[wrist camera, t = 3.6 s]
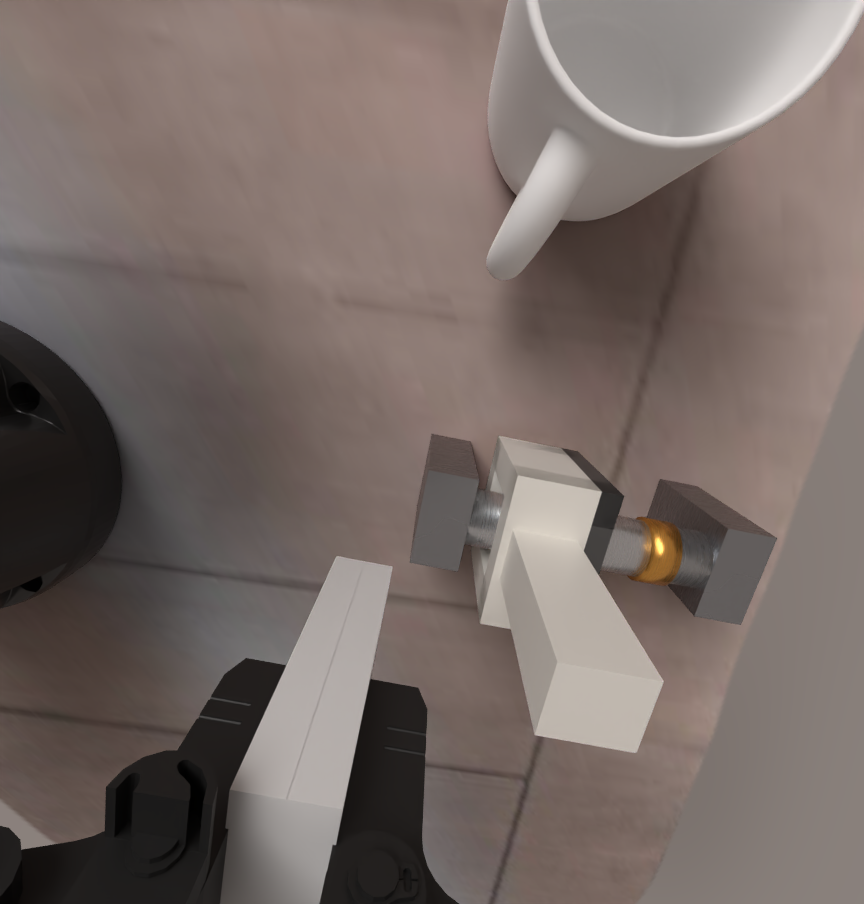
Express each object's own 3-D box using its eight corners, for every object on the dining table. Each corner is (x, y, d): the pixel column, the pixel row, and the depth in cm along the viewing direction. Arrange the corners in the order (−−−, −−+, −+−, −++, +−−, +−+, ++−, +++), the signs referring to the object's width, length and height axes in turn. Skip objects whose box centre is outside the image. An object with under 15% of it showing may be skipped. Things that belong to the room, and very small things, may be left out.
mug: (553, 332, 23) (636, 342, 13) (405, 236, 22) (376, 168, 12) (718, 84, 21) (978, -138, 11) (558, -40, 20) (677, -412, 10)
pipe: (417, 506, 26) (409, 564, 20) (432, 434, 25) (428, 471, 19) (672, 555, 26) (742, 627, 20) (697, 486, 25) (779, 539, 19)
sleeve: (470, 550, 24) (501, 799, 12) (498, 435, 23) (568, 578, 10) (545, 565, 24) (655, 826, 12) (577, 451, 23) (744, 612, 10)
